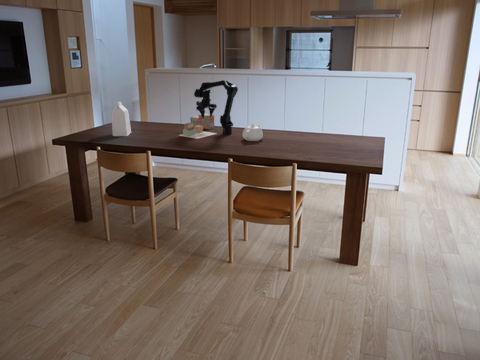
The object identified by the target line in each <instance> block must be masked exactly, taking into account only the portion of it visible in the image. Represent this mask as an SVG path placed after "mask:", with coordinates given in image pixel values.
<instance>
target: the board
mask: <svg viewBox="0 0 480 360" xmlns="http://www.w3.org/2000/svg"><path fill="white" fill-rule="evenodd" d="M217 134H218V133H217V132H211V131H204V130H203V132H201V133H196V135H192V136H187V135H183V133H182V134H178V136H180V137H185V138H189V139H197V140H198V139H203V138H205V137H209V136H214V135H217Z"/></svg>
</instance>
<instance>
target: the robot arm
mask: <svg viewBox="0 0 480 360" xmlns="http://www.w3.org/2000/svg"><path fill="white" fill-rule="evenodd" d="M222 86H223V87H224V89H225V90H226V94H227V97H226V102H225V108H224V112H223V114H221V115H220V118H219V123H220V125H221V128H222V135H226V136H230V135H233V126H234V123H233V122H232V120H231V117H232V116H231V111H232V107H233V103H234V98H235V97H236V95H237V94H238V90H239V88H238V86H237V85H235V84H234V83H232V82H230V81H229V80H228V79H223V80H219V81H218V80H217V81H213V82H212V81H207V82H202V83H201V85H200V87H199V88H196V89H195V91H194V93H193V96H194V98H200V99H201V101H199V100H198V101H196V110H197V111H199V113H200V114H201V116H202V118H204V114H206V110H205V109H208V110H209V114H210V117H211V116H212V115H214V114H213V113H214V112H215V110H216V109H217V104H216V103H211V101H212V99H211V93H213V91H212V90H211V89H212V88H215V87H222Z"/></svg>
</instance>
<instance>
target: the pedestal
mask: <svg viewBox="0 0 480 360" xmlns="http://www.w3.org/2000/svg"><path fill="white" fill-rule="evenodd" d="M182 134H183V135H187V136H192V135H196V131H195V129H194V130H190V131H189V130H185V129H183V130H182Z"/></svg>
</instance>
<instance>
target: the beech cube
mask: <svg viewBox="0 0 480 360" xmlns="http://www.w3.org/2000/svg"><path fill="white" fill-rule="evenodd" d="M183 126H184V130H189V131H190V130H194V125H193V123H191V122H186V123H184V125H183Z"/></svg>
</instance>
